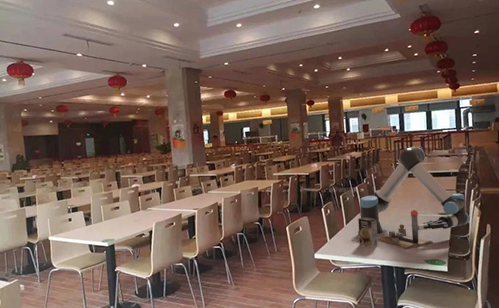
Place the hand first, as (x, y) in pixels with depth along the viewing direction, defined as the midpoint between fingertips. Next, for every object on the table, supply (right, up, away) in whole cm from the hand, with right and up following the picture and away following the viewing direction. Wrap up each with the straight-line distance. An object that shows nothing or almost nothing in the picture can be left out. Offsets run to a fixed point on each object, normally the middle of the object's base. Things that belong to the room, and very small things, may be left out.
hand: (418, 228), depth 243 cm
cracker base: (-5, -10, +9) cm, 14 cm away
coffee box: (-27, -12, +7) cm, 31 cm away
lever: (-5, -8, +8) cm, 13 cm away
